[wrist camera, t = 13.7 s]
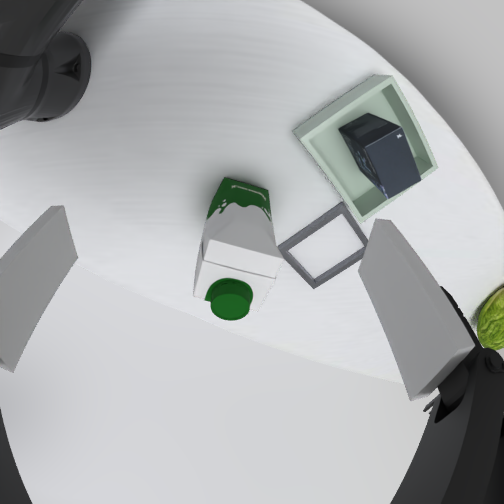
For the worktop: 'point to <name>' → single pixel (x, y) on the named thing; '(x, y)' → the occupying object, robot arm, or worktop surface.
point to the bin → (338, 154)
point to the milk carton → (237, 251)
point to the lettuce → (492, 322)
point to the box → (381, 153)
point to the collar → (313, 228)
